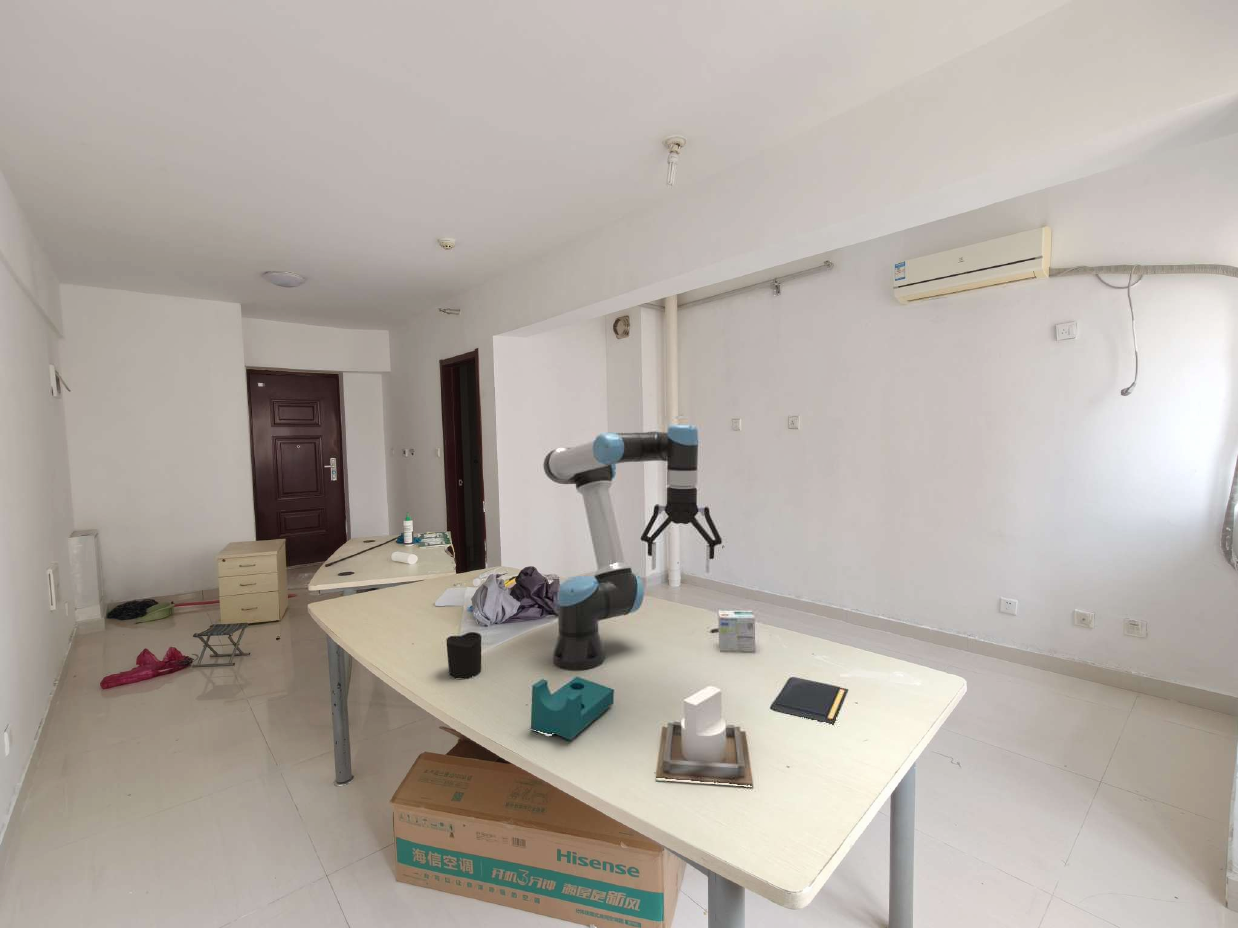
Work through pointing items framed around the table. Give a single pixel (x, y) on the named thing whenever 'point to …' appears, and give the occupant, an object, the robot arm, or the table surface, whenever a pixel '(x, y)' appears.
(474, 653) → the pen holder
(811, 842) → the table surface
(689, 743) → the cylinder with rectangular tab
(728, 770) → the plate
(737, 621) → the light bulb box
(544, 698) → the teal l-shaped bracket
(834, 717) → the wallet
